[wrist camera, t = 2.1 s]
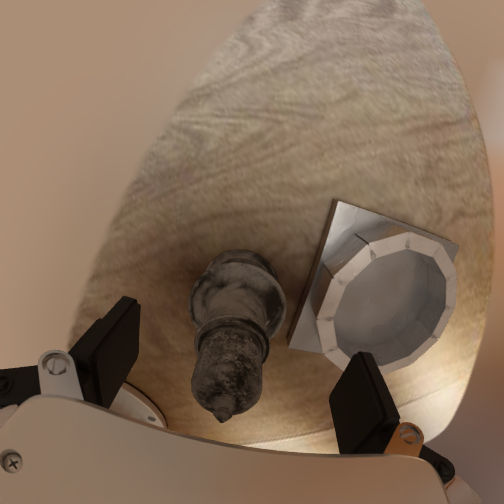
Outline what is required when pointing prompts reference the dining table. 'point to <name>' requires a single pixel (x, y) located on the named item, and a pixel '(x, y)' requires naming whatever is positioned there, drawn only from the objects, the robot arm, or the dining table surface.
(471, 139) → the dining table surface
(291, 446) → the dining table surface
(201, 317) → the salt shaker
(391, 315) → the hub plate
